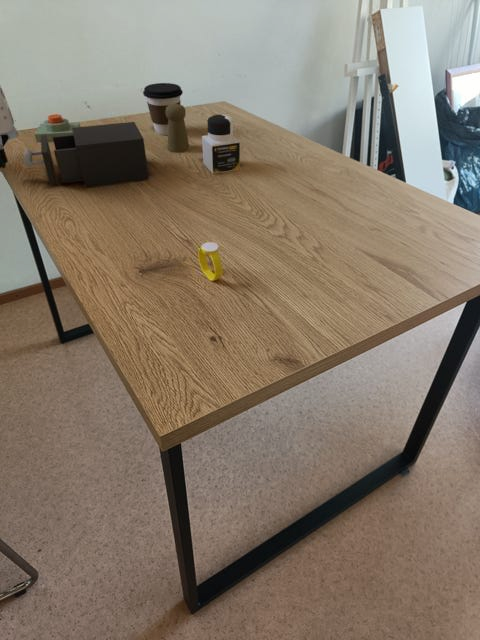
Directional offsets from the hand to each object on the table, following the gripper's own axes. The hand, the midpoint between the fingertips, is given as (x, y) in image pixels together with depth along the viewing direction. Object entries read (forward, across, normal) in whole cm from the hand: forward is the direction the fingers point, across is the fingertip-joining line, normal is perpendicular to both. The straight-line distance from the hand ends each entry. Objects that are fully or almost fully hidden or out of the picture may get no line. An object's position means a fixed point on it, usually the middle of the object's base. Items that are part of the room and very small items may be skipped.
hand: (1, 166), depth 100 cm
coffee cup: (+5, -42, -26) cm, 50 cm away
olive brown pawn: (+5, -42, -12) cm, 45 cm away
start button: (+1, -12, -32) cm, 35 cm away
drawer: (+4, -14, 0) cm, 14 cm away
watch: (+6, -34, +49) cm, 60 cm away
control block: (+5, -12, -32) cm, 35 cm away
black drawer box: (+5, -24, 0) cm, 24 cm away
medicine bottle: (+6, -50, +4) cm, 50 cm away
